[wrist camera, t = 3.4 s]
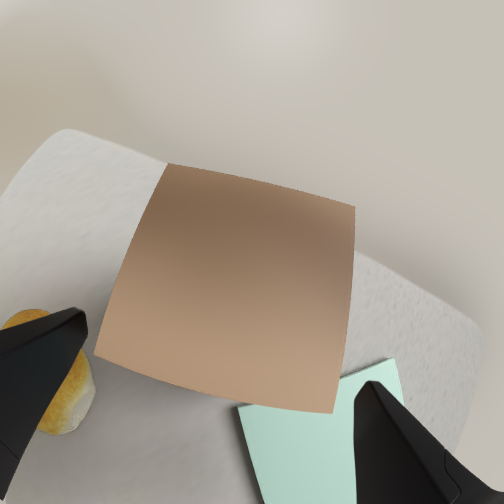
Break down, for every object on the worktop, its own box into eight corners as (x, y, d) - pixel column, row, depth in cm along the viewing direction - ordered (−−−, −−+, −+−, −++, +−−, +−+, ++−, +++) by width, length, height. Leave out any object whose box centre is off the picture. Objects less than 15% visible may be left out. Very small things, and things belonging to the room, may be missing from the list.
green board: (407, 475, 12) (413, 478, 12) (273, 531, 11) (275, 536, 10) (388, 358, 17) (394, 357, 16) (237, 406, 15) (237, 407, 14)
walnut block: (259, 383, 15) (332, 414, 5) (181, 364, 15) (93, 353, 5) (275, 308, 18) (354, 206, 7) (201, 290, 18) (168, 163, 7)
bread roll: (37, 296, 16) (7, 279, 12) (114, 369, 15) (87, 367, 11) (0, 372, 13) (-31, 367, 9) (70, 450, 12) (41, 461, 8)
